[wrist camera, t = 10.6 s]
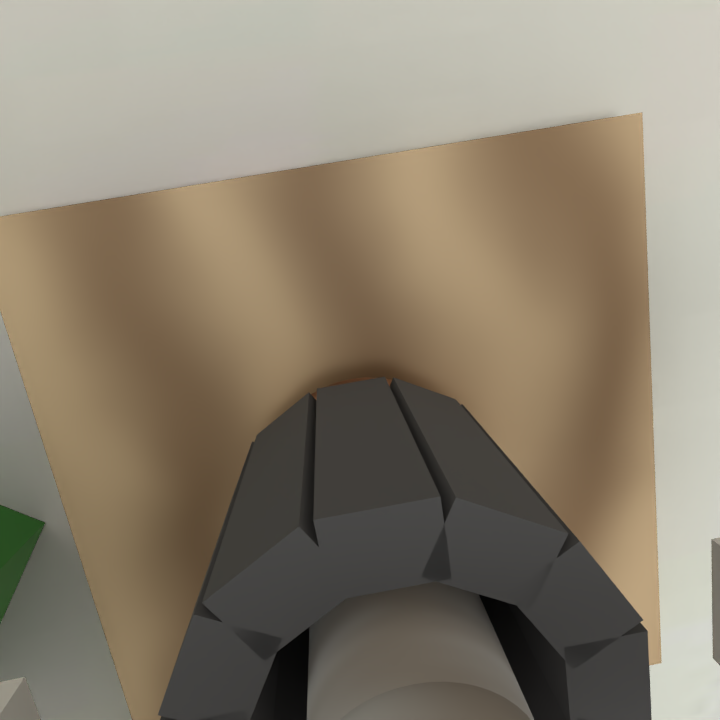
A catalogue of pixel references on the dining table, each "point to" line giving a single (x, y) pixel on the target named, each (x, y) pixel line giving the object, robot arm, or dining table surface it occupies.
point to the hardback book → (15, 550)
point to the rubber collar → (398, 560)
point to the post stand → (344, 379)
